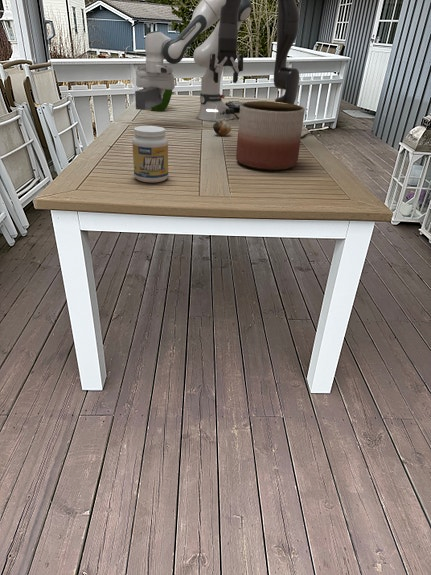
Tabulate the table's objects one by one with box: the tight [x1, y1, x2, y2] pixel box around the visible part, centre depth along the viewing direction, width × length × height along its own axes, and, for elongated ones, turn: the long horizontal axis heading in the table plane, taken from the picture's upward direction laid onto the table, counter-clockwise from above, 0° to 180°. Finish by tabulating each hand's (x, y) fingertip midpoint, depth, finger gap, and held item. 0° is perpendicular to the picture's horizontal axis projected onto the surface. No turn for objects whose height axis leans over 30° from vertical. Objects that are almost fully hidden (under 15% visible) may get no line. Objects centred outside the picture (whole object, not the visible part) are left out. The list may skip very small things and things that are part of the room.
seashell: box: [212, 119, 232, 136], centre depth 209 cm, size 10×6×8 cm, turn 97°
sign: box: [224, 100, 244, 114], centre depth 286 cm, size 19×3×30 cm
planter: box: [235, 100, 306, 171], centre depth 164 cm, size 25×25×22 cm
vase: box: [142, 88, 173, 112], centre depth 261 cm, size 20×20×24 cm
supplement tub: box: [131, 125, 169, 183], centre depth 142 cm, size 12×12×17 cm
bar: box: [134, 87, 162, 111], centre depth 207 cm, size 26×5×8 cm, turn 167°
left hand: (155, 97), depth 215 cm, fingers closed on bar, 5 cm apart
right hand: (225, 82), depth 170 cm, fingers open, 8 cm apart
